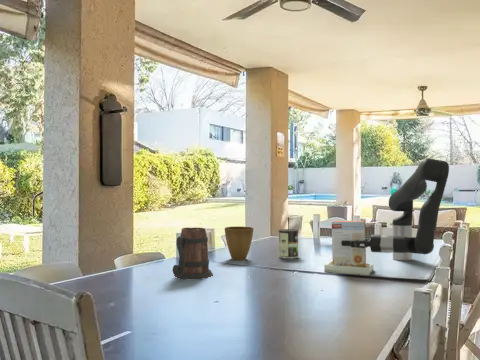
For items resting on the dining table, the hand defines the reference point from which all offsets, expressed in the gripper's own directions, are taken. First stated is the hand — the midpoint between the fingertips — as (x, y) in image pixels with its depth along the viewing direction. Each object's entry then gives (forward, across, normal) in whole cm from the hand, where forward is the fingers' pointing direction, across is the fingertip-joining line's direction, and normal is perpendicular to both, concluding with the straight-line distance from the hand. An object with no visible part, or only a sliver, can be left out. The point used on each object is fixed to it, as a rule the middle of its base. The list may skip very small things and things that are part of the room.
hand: (343, 242), depth 203 cm
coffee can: (+35, -26, +13) cm, 45 cm away
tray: (-2, 0, +13) cm, 13 cm away
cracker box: (-2, 0, +12) cm, 12 cm away
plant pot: (+56, -10, +12) cm, 58 cm away
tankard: (+56, +38, +12) cm, 69 cm away
